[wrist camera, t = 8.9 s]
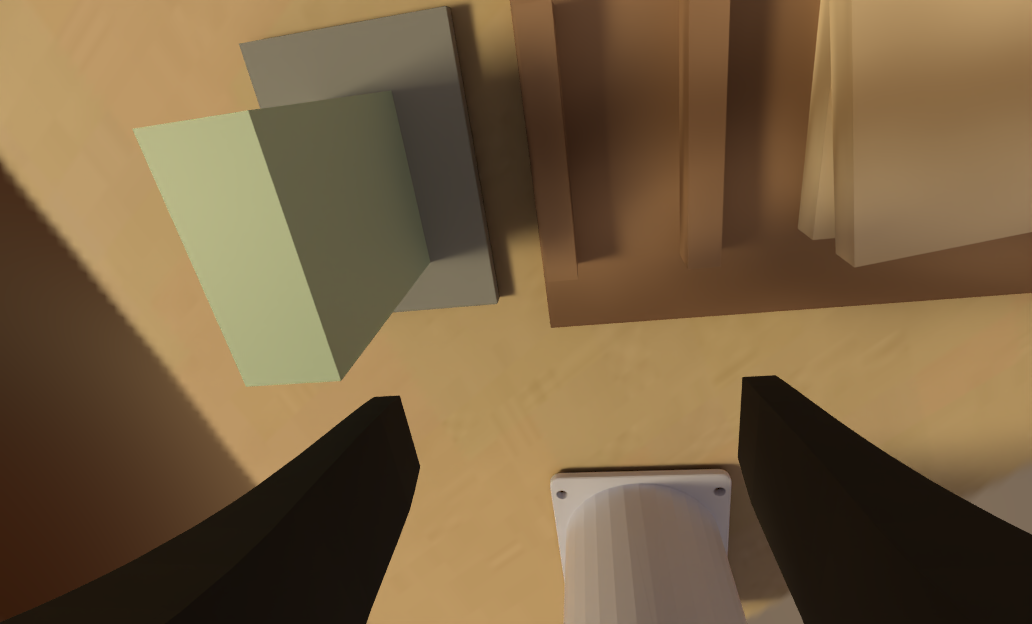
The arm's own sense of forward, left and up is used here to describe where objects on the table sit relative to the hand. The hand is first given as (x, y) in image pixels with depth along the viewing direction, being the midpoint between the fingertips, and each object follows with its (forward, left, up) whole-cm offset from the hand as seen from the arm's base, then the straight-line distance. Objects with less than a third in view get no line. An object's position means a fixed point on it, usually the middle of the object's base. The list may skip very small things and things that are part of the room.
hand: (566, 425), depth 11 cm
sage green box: (+4, +7, -9) cm, 12 cm away
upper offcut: (+4, -10, -7) cm, 13 cm away
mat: (+4, +7, -9) cm, 12 cm away
